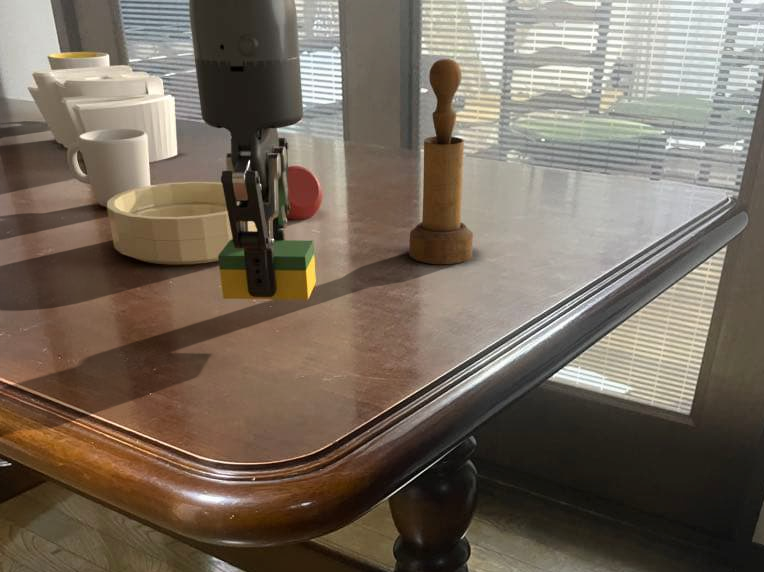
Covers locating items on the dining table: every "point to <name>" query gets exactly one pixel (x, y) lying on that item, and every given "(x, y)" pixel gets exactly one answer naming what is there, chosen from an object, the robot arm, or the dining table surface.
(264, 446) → the dining table surface
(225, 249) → the sponge
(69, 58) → the mug
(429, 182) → the mortar and pestle
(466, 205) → the dining table surface
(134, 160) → the cup
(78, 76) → the white wavy slab sculpture
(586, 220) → the dining table surface
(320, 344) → the dining table surface
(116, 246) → the bowl
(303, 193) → the fruit
